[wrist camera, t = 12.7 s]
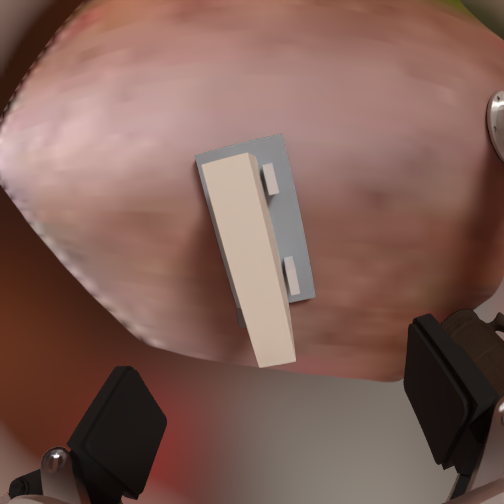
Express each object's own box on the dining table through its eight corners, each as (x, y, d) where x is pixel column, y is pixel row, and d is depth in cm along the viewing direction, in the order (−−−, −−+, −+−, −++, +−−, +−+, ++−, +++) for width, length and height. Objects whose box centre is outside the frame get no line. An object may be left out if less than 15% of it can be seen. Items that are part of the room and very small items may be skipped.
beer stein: (439, 372, 40) (492, 442, 21) (417, 345, 39) (482, 426, 19) (493, 312, 38) (559, 365, 18) (478, 277, 36) (560, 330, 16)
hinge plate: (281, 134, 31) (284, 129, 25) (313, 292, 36) (320, 313, 31) (197, 155, 32) (184, 154, 27) (239, 306, 38) (235, 329, 32)
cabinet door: (255, 156, 30) (247, 152, 17) (286, 288, 35) (296, 361, 22) (219, 165, 31) (183, 169, 17) (253, 294, 35) (245, 369, 22)
